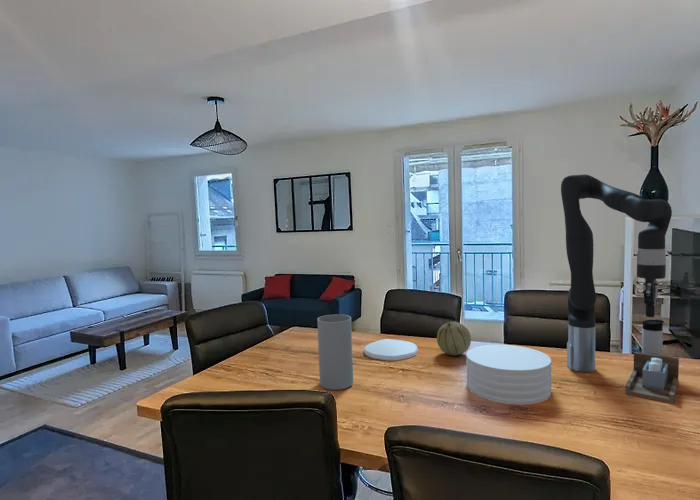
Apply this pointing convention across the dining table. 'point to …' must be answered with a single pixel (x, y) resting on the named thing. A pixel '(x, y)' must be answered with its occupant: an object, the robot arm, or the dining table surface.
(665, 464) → the dining table surface
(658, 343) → the travel mug
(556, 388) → the dining table surface
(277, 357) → the dining table surface
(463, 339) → the cantaloupe
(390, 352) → the decorative plate
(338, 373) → the cylinder vase
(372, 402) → the dining table surface
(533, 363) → the plate stack
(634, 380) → the shelf
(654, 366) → the caddy
